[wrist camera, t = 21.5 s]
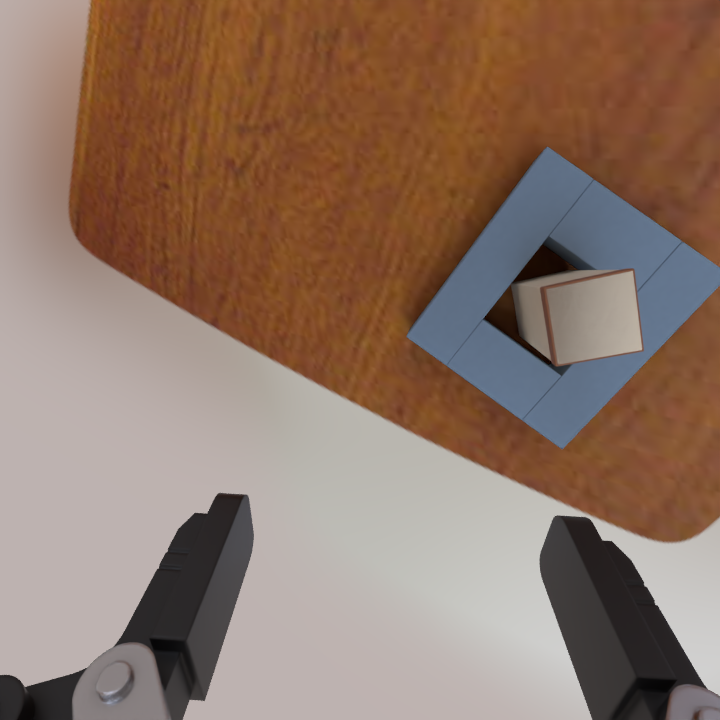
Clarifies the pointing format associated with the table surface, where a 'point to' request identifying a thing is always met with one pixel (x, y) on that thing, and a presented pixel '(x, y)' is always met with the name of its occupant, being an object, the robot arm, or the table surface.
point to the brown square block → (580, 314)
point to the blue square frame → (585, 252)
